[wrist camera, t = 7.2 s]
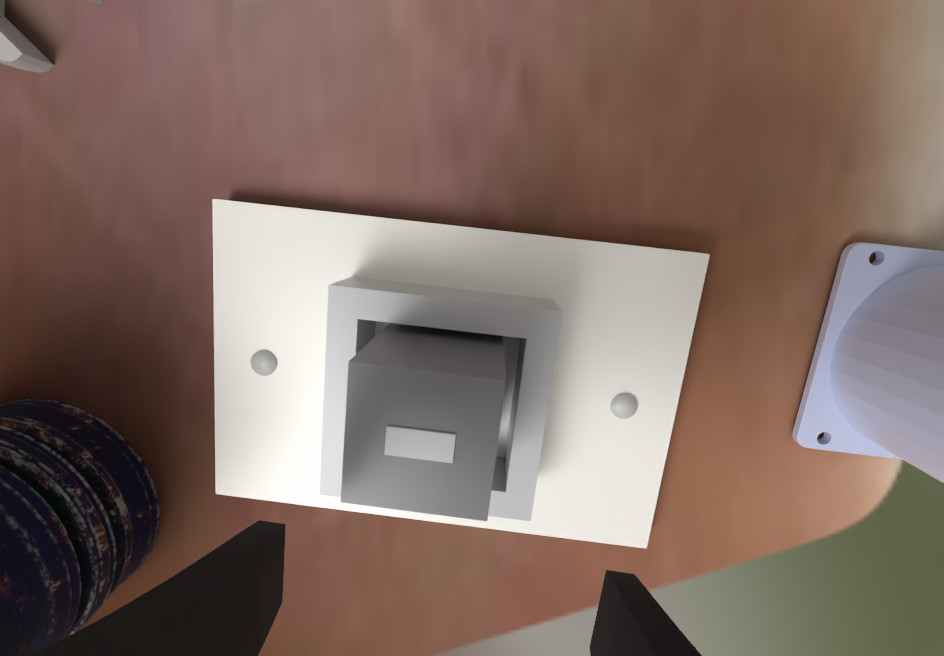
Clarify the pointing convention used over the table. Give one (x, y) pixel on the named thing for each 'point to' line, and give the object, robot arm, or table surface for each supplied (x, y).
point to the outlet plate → (463, 309)
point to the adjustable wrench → (21, 47)
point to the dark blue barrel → (66, 520)
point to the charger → (424, 421)
